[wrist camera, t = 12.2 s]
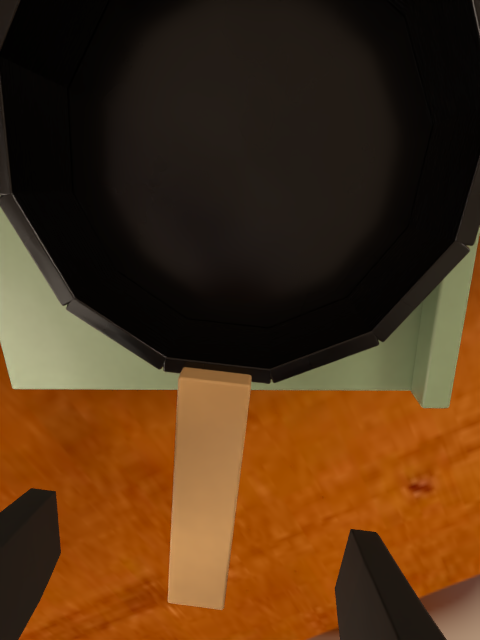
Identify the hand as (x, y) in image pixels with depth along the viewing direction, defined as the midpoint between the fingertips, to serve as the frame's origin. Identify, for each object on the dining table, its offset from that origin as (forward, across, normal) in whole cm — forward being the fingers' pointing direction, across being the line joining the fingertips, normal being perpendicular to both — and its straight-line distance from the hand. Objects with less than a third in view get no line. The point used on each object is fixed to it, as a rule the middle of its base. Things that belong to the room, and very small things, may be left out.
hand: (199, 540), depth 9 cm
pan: (+4, 0, -5) cm, 7 cm away
